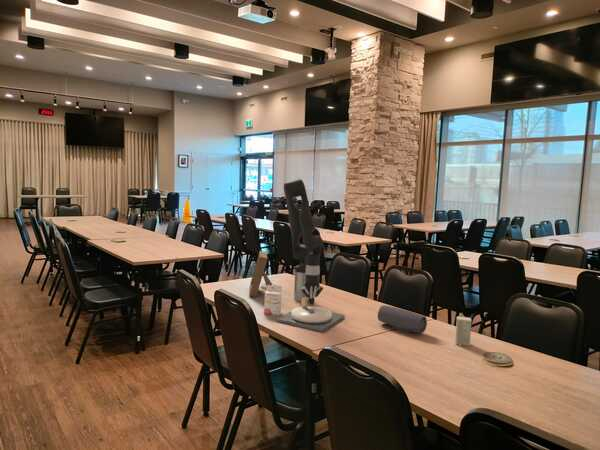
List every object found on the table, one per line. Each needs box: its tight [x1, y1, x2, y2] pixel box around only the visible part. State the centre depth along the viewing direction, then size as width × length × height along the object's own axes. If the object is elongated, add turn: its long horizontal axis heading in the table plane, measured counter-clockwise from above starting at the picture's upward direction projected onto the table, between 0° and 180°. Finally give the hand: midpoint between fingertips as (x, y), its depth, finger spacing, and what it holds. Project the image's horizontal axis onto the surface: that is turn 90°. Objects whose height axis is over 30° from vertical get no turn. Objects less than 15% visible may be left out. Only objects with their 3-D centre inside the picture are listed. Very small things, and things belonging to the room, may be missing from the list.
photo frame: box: [248, 250, 273, 298], centre depth 262 cm, size 15×22×25 cm
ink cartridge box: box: [263, 284, 282, 316], centre depth 223 cm, size 9×5×15 cm, turn 84°
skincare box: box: [454, 316, 472, 347], centre depth 189 cm, size 6×4×12 cm
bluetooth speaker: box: [377, 304, 428, 334], centre depth 206 cm, size 23×9×10 cm, turn 47°
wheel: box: [290, 298, 333, 323], centre depth 215 cm, size 21×21×7 cm
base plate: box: [276, 311, 346, 333], centre depth 215 cm, size 26×26×2 cm
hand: (311, 304), depth 225 cm, fingers closed
